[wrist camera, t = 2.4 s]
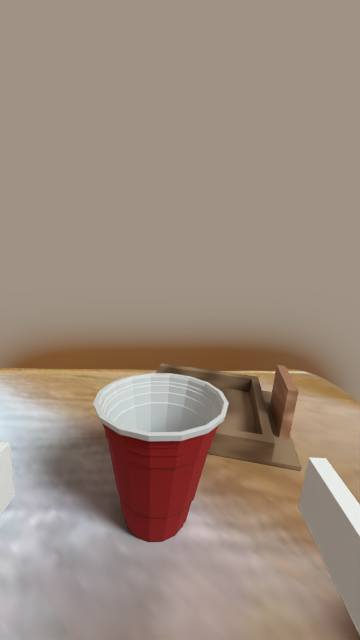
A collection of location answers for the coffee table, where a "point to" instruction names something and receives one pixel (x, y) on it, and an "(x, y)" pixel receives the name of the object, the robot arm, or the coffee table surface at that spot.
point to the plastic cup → (159, 445)
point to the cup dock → (252, 416)
